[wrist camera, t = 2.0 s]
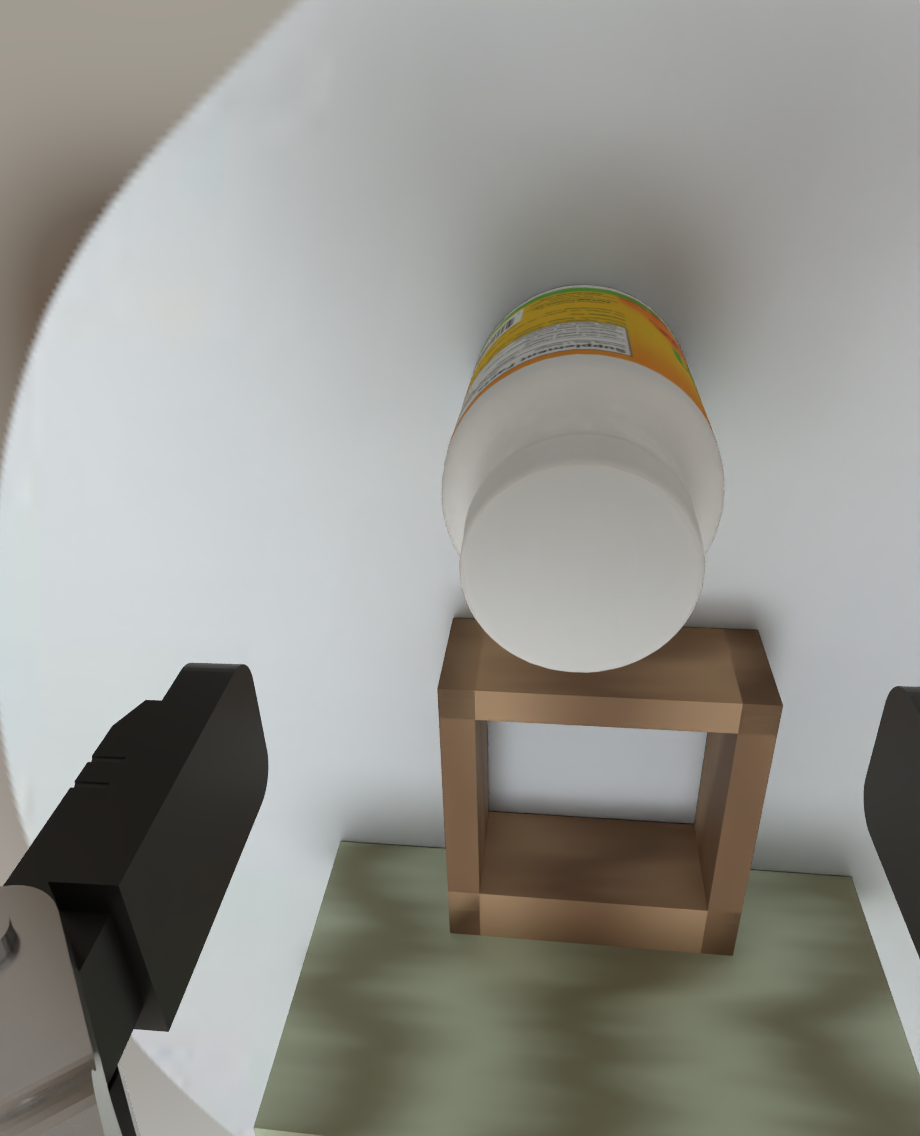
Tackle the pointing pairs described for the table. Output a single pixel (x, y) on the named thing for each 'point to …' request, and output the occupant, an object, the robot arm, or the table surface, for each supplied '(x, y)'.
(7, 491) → the table surface
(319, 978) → the board
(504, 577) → the supplement bottle
